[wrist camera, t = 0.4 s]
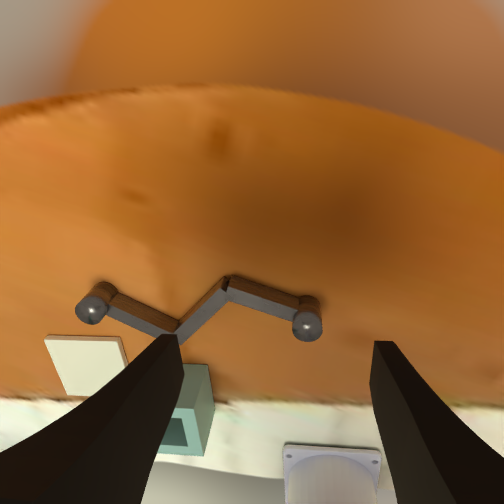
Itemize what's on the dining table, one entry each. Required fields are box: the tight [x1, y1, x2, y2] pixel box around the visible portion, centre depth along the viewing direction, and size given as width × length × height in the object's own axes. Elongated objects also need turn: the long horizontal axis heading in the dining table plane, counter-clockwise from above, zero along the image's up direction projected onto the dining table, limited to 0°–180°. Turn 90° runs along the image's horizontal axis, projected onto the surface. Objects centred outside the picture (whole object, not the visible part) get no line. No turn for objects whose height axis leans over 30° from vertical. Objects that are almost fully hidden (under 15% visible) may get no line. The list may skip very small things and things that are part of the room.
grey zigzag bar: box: [75, 275, 323, 345], centre depth 23 cm, size 5×16×2 cm, turn 94°
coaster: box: [44, 335, 128, 396], centre depth 28 cm, size 6×6×1 cm
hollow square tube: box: [157, 364, 215, 456], centre depth 27 cm, size 5×5×4 cm
